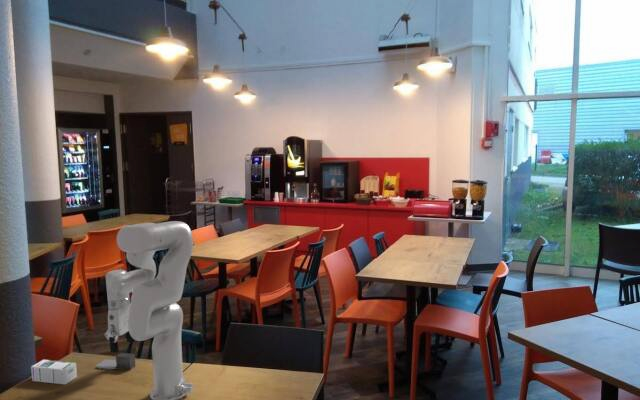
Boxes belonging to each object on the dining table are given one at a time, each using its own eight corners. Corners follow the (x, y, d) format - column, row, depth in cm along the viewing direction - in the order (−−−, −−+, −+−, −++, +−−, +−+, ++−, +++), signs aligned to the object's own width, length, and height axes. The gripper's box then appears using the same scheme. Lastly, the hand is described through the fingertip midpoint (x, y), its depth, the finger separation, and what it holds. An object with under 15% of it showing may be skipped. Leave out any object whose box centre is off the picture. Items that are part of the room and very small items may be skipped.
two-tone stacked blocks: (137, 365, 180) (136, 353, 179) (128, 371, 175) (128, 358, 174) (105, 362, 183) (104, 350, 182) (96, 368, 178) (95, 355, 177)
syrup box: (64, 369, 165) (30, 365, 168) (66, 385, 165) (31, 381, 168) (76, 362, 170) (42, 358, 173) (77, 377, 171) (43, 373, 174)
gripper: (112, 310, 166) (117, 356, 167) (141, 296, 183) (145, 338, 184) (94, 310, 168) (99, 356, 169) (124, 296, 184) (128, 337, 186)
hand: (123, 346), depth 177 cm, fingers open, 9 cm apart
